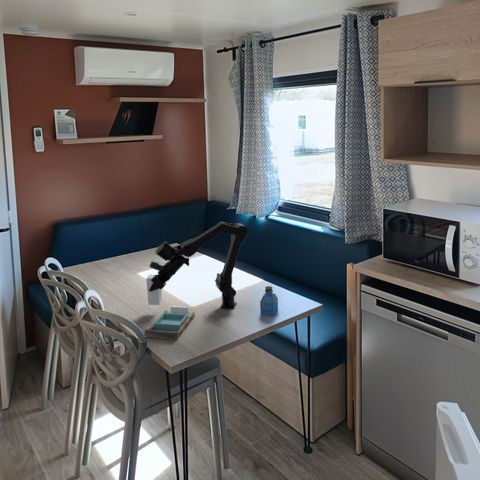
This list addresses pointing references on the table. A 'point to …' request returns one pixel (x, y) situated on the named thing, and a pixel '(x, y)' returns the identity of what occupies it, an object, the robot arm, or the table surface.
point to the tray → (172, 319)
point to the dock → (168, 334)
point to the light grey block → (153, 293)
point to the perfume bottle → (269, 302)
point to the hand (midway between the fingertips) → (151, 288)
